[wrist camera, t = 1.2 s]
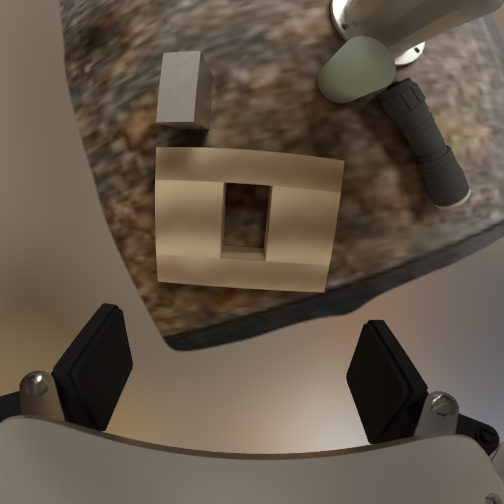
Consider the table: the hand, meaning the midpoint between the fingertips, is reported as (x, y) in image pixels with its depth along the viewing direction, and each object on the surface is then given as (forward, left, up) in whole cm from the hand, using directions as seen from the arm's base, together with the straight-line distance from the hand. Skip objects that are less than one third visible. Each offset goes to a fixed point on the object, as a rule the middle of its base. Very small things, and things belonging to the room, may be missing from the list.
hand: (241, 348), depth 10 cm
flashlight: (-11, +20, -23) cm, 32 cm away
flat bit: (-12, -6, -22) cm, 26 cm away
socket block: (0, 0, -22) cm, 22 cm away
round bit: (-16, +9, -22) cm, 29 cm away
